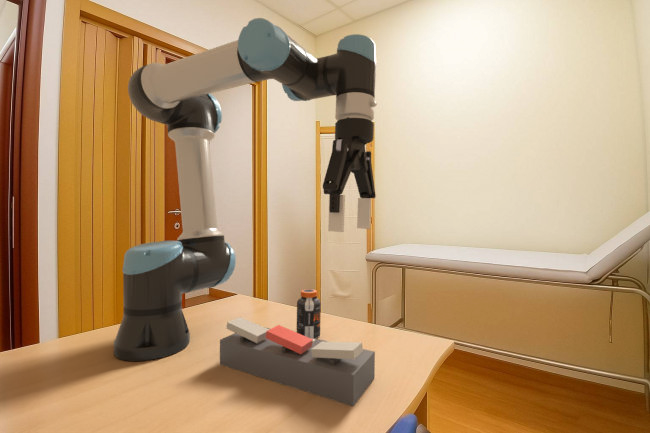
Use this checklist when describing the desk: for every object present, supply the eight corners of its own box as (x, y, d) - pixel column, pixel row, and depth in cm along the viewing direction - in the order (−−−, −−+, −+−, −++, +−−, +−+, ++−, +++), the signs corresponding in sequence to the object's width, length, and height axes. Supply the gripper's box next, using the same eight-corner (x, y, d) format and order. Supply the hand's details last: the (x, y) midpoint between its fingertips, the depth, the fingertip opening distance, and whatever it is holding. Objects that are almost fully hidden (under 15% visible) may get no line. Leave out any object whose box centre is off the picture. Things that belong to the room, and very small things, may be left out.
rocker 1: (226, 328, 66) (227, 322, 66) (239, 323, 69) (240, 316, 69) (256, 343, 62) (257, 336, 62) (269, 336, 66) (270, 329, 65)
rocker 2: (312, 357, 56) (311, 349, 57) (322, 349, 60) (321, 341, 60) (354, 359, 53) (353, 350, 53) (362, 350, 56) (361, 342, 56)
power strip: (219, 364, 65) (219, 335, 65) (253, 346, 74) (253, 320, 74) (353, 406, 51) (353, 369, 51) (374, 378, 60) (374, 346, 60)
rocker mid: (265, 338, 61) (266, 330, 61) (277, 331, 65) (278, 324, 64) (300, 354, 58) (302, 346, 57) (311, 346, 61) (312, 339, 61)
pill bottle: (317, 341, 77) (317, 293, 77) (293, 339, 79) (293, 292, 78) (322, 332, 83) (323, 288, 83) (300, 330, 84) (300, 287, 84)
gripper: (346, 98, 51) (341, 234, 51) (391, 133, 73) (388, 228, 73) (304, 104, 54) (301, 231, 55) (360, 136, 76) (357, 226, 77)
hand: (351, 230), depth 64 cm, fingers open, 13 cm apart
